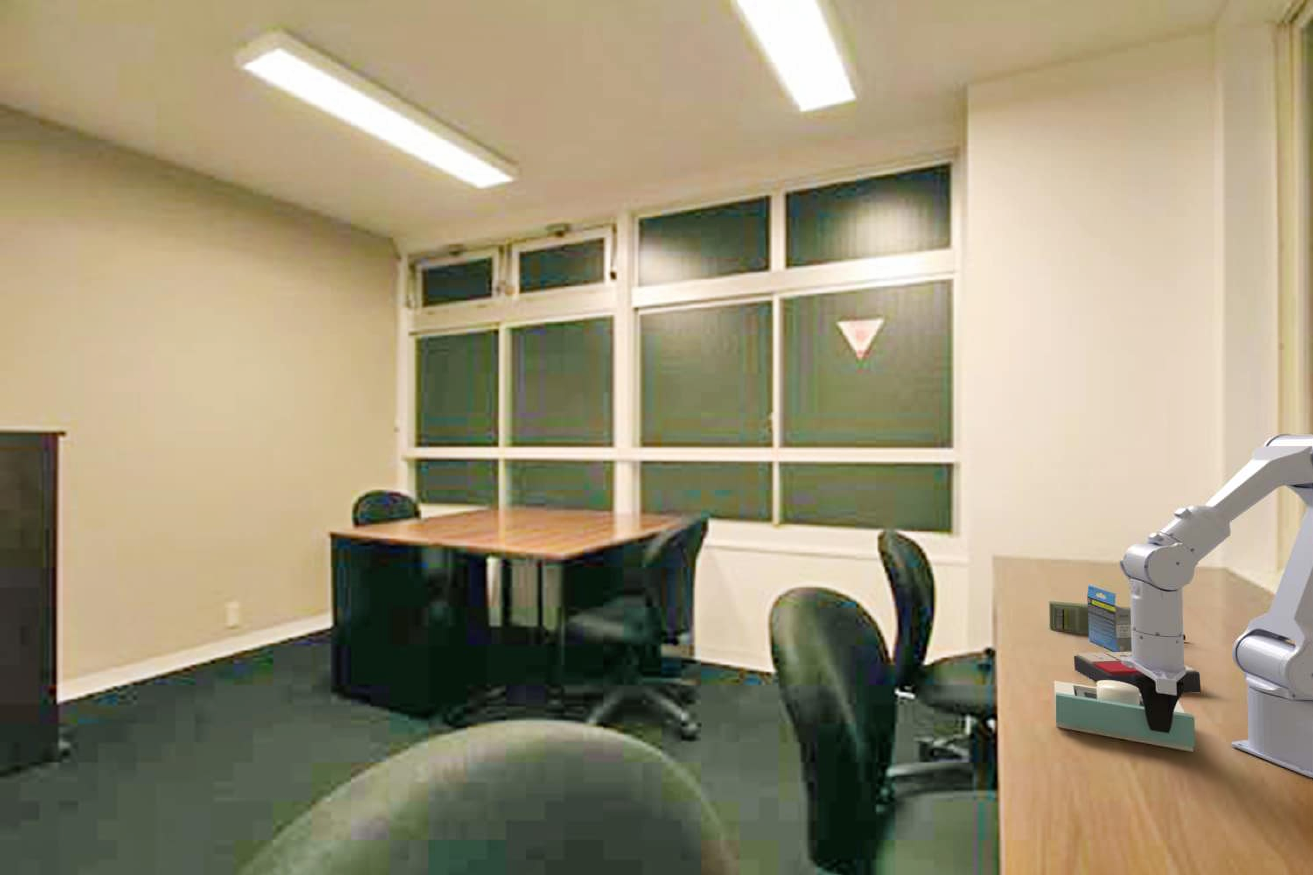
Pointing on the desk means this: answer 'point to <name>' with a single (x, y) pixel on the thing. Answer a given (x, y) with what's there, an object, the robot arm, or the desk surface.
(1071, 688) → the dock
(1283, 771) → the desk surface
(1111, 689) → the white dome-topped cylinder
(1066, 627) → the handheld radio
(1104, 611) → the label tape box
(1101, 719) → the tray
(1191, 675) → the calculator
